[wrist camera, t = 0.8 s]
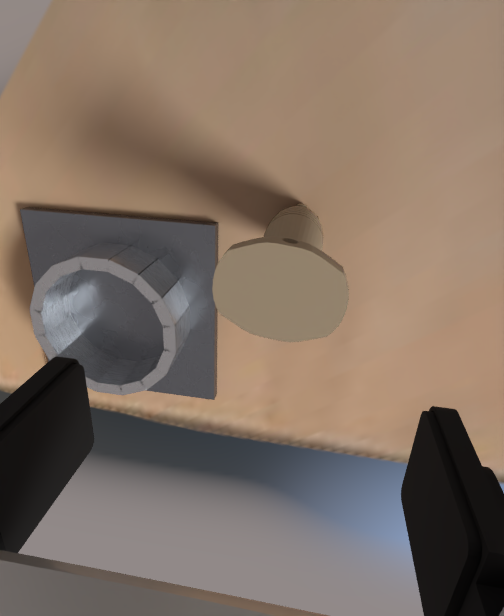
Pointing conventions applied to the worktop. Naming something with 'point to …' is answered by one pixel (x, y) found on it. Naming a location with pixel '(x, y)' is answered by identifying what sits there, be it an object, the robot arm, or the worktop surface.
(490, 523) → the robot arm
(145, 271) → the duct collar
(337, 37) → the worktop surface
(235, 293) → the handle
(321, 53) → the worktop surface
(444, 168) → the worktop surface
